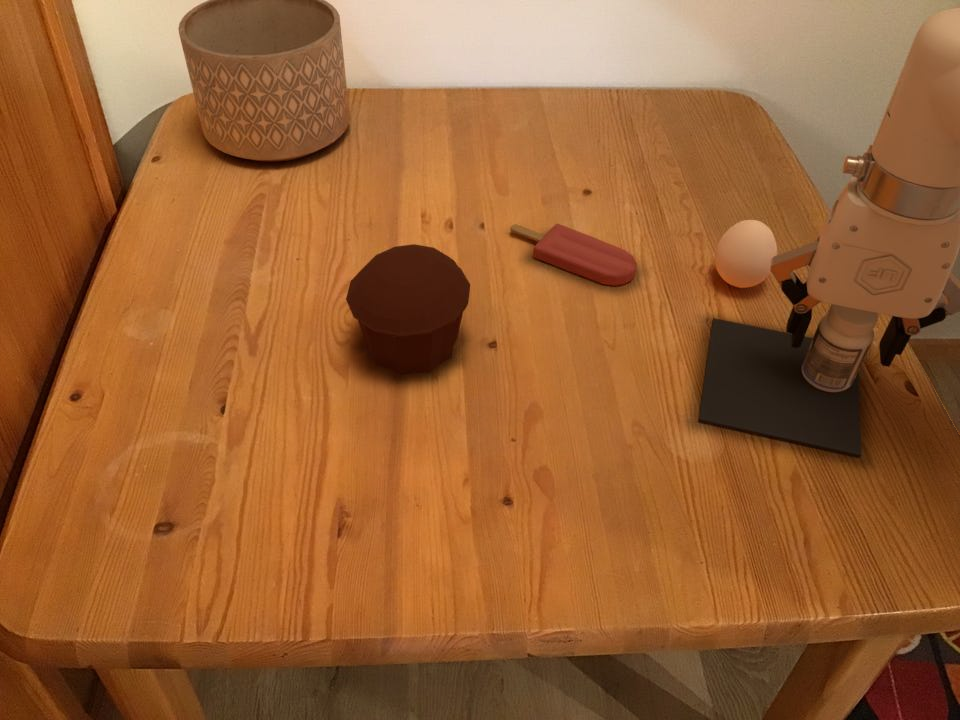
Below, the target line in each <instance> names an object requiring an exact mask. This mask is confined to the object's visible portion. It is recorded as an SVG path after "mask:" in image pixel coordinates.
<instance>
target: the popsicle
mask: <svg viewBox="0 0 960 720" xmlns="http://www.w3.org/2000/svg"><path fill="white" fill-rule="evenodd" d="M509 230H510V231H511V232H513V233H515V234H517V235H520V236H522V237H524V238H527V239H530V240H532V241H535V242H537V243H536V244H535V245H534V247H533V251H532V257H533V258H534V259H537V260H538V261H542V262H544V263H546V264H549V265H552V266H554V267H557V268H559V269H562V270H564V271H567V272H569V273H572V274H575V275H578V276H580V277H582V278H583V277H584V278H586V279H588V280H591V281H594V282H595V283H596V282H597V283H599V284H602V285H605V286H606V285H607V286H613V287H616V286H622V285H625V284H627V283H629V282H631V281H632V280H633V278H634V277H635V274H636V269H637V261H636V259H635V257H634V255H633V254H632V253H630V252H628V251H627V250H625V249H624V248H621V247H619V246H616V245H614V244H611V243H609V242H606V241H604V240H601V239H599V238H596V237H593V236H591V235H588V234H586V233H584V232H581V231H578V230H576V229H573V228H571V227H568V226H565V225H562V224H560V223H555V224H554V225H553V226H552V227H551V228H550V229H549V231H547V233H546V234H543V233H540V232H538V231H534V230H532V229H529V228H527V227H524V226H523V225H522V226H521V225H519V224H512V225H511V226H510V228H509Z"/></svg>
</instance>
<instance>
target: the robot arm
mask: <svg viewBox="0 0 960 720" xmlns="http://www.w3.org/2000/svg"><path fill="white" fill-rule="evenodd" d="M842 173H843V174H847V175H851V176H852V177H851V178H850V179H849V181H848V182H847V183H846V185H845V186H844V188H843V189H842V191H841V192H840V194H839V195H838V197H837V199H836V200H835V202H834V203H833V206H832V207H831V209H830V211H829V213H828V214H827V216H826V218H825V220H824V222H823V224H822V226H821V228H820V230H819V232H818V234H817V237H816V239H815V240H814V241H813V242H810V243H807V244H805V245H802V246H799V247H797V248H793V249H791V250H788V251H785V252H782V253H780V254H777V256H774V257H773V258H772V259H771V267H770V269H771V274H772V275H773V277H774V279H775V280H776V282H777V283H778V284H779V285H780V287H781V292H782V293H783V294H784V296H785V297H786V298H787V300H789V302H790V303H791V304H792V308H791V310H790V313H789V316H788V319H787V323H786V327H785V328H786V329H785V333H790V334H792V342H791V347H794V348H798V347H800V346H801V344H802V341H803V339H804V336H805V337H806V334H807V331H808V328H809V327H810V324H811V322H812V319H813V318H812V317H813V308H814V307H816V306H817V305H818V304H820V303H825V304H829V305H831V304H833V305H838V306H843V307H848V308H853V309H858V310H864V311H869V312H874V313H878V315H886V316H891V318H890V321H888V324H887V326H886V329H885V331H884V333H883V334H882V336H881V338H880V340H879V344H878V345H879V359H880V361H879V362H880V364H881V365H882V366H884V367H887V368H889V367H891V364H892V363H893V361H894V359H895V357H896V355H898V356H901V355H902V354H903V352H904V350H905V348H906V347H907V344H908V342H909V341H910V339H911V337H912V336H916V335H918V334H920V333H921V329H924V328H927V327H929V326H932V325H935V324H939V323H940V322H943V321H944V320H945V319H946V317H948V316H952V315H954V314H957V313H960V280H959V279H958V277H956V276H955V274H954V273H953V272H952V270H953V268H954V265H955V262H956V260H957V257H958V254H959V251H960V7H953V8H948V9H943V10H941V11H938V12H935V13H934V14H932V15H931V16H930V17H929V18H927V19H926V20H925V21H924V22H923V23H922V24H921V26H920V27H919V29H918V30H917V32H916V35H915V37H914V39H913V41H912V43H911V46H910V49H909V51H908V54H907V56H906V59H905V61H904V64H903V66H902V69H901V71H900V74H899V77H898V79H897V82H896V84H895V86H894V89H893V91H892V94H891V97H890V99H889V101H888V104H887V105H886V109H885V111H884V113H883V118H882V119H881V121H880V124H879V127H878V130H877V132H876V135H875V137H874V139H873V141H872V143H871V144H869V145H868V148H867V151H866V152H864V153H863V154H862V155H857V156H852V155H846V158H845V160H844V162H843V166H842ZM806 266H808V268H809V269H808V273H807V277H806V278H805V279H803V280H801V279H800V278H799V277H798V275H797V274H796V273H795V272H794V271H796V270H798V269H800V268H804V267H806ZM942 294H943V295H944V296H942ZM941 296H942V297H941Z"/></svg>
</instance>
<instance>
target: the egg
mask: <svg viewBox="0 0 960 720" xmlns="http://www.w3.org/2000/svg"><path fill="white" fill-rule="evenodd" d="M777 255H778V244H777V241H776V238H775V235H774V233H773V231H772V229H771V228H770V227H769V226H768V225H766V224H765V223H763V222H762V221H760V220H756V219H744V220H741V221H738V222H737V223H735V224H734V225H731V227H730V228H729V229H727V231H725V232H724V233H723V234H722V236H721V238H720V239H719V241H718V243H717V246H716V249H715V254H714V264H715V268H716V271H717V273H718V275H719V276H720V277H721V278H722V280H723V281H724V282H726V283H727V284H728V285H731V286H732V287H735V288H739V289H746V288H751V287H755V286H757V285H759V284H761V283H762V282H764V281H765V280H766V279H767V278H768V277H769V276H770V275H771V274H772V272H771V269H770V267H771V259H772V258H773V257H774V256H777Z"/></svg>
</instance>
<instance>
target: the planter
mask: <svg viewBox="0 0 960 720" xmlns="http://www.w3.org/2000/svg"><path fill="white" fill-rule="evenodd" d="M340 17H341V16H340V14H339V12H338V10H337V9H336V8H335V7H334V5H333V4H331V3H330V2H328V1H327V0H206V1H204V2H202V3H199V4H198V5H196V6H195V7H193V8H192V9H190V10H189V11H187V12H186V13H185V15H183V17H182V18H181V20H180V22H179V24H178V27H177V29H178V36H179V39H180V43H181V46H182V51H183V56H184V60H185V64H186V68H187V73H188V76H189V80H190V85H191V89H192V93H193V97H194V101H195V105H196V110H197V113H198V117H199V121H200V126H201V131H202V134H203V136H204V138H205V139H206V141H207V142H208V143H209V144H210V145H211V146H212V147H214V148H215V149H217V150H218V151H221V152H223V153H224V154H227V155H230V156H233V157H236V158H242V159H246V160H251V161H254V162H255V161H258V162H269V163H270V162H271V163H272V162H273V163H274V162H286V161H291V160H292V161H293V160H297V159H300V158H303V157H307V156H310V155H312V154H314V153H316V152H318V151H319V150H322V149H324V148H326V147H328V146H330V145H331V144H333V143H334V142H335V141H337V140H338V139H339V138H340V137H342V135H343V134H344V133H345V132H346V130H347V128H348V127H349V124H350V120H351V115H350V107H349V106H350V105H349V95H348V87H347V74H346V66H345V65H346V64H345V56H344V48H343V47H344V46H343V36H342V26H341V18H340Z"/></svg>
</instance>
